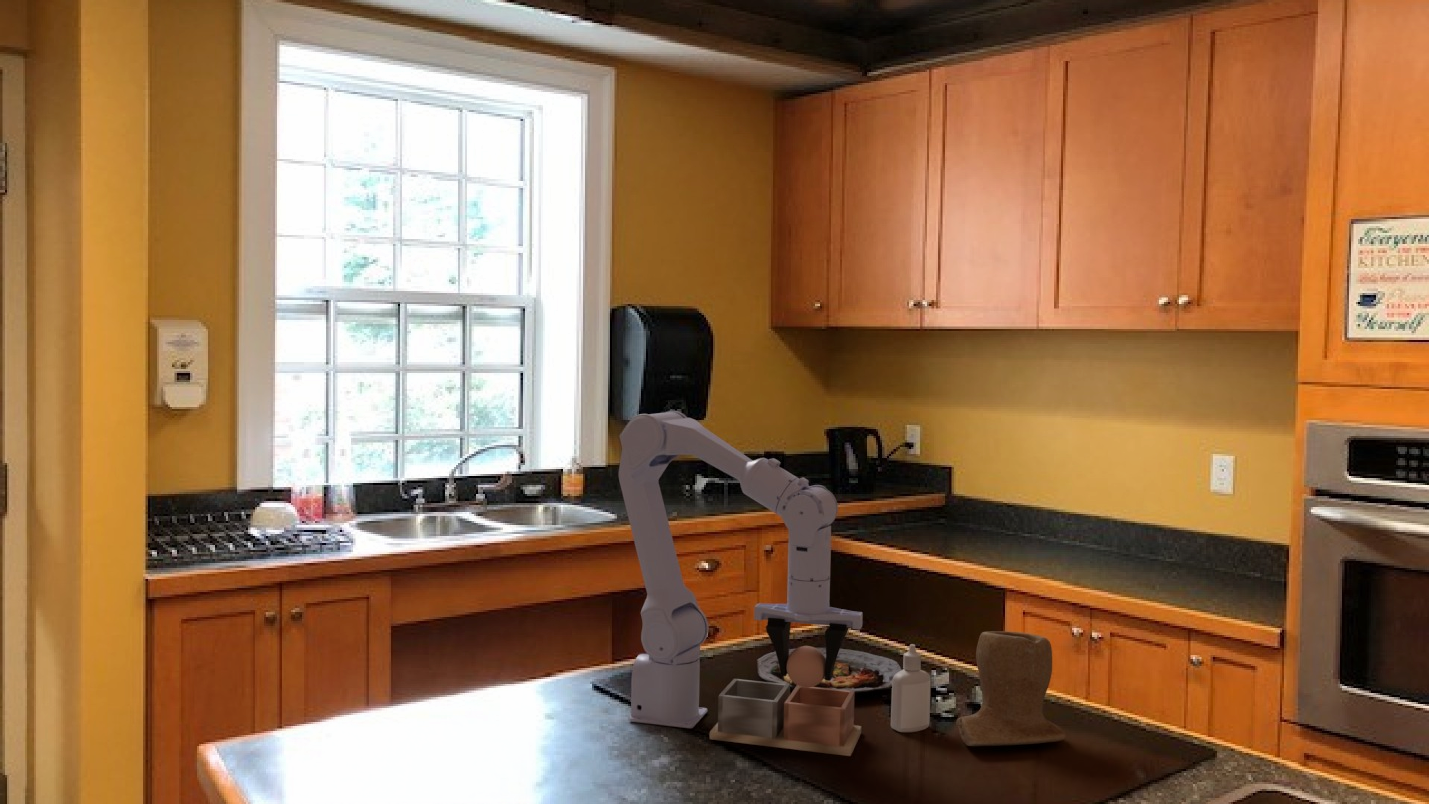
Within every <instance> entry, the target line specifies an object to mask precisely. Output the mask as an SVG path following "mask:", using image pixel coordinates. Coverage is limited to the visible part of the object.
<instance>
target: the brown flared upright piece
mask: <svg viewBox="0 0 1429 804" xmlns="http://www.w3.org/2000/svg"><path fill="white" fill-rule="evenodd" d="M975 658H976V665H977V671H978V676H979V683H980V688H981V697H982V698H981V699H982V703H981V706H980V709H979V710H978V711H977V712H975V713H974V714H970V715H965V716H964V715H963V716H960V717H958V718H957V719H956V721H955V723H956V726H957V728H958V732H959V735H960V738H961V740H962V742H963V743H964V744H965V746H968V747H997V746H998V747H999V746H1001V747H1003V746H1004V747H1005V746H1017V745H1018V746H1020V745H1035V744H1046V743H1054V742H1060V741H1063V740H1064V739H1066V733H1065V732H1064V731H1063V730H1062V729H1061V728H1060V727H1059V726H1057V725H1056V724H1055V723H1053V722H1051V721H1050V720H1048V719H1046V717H1045V716H1044V714H1043V706H1044V701H1045V697H1046V694H1047V691H1048V689H1049V685H1050V682H1051V678H1052V673H1053V649H1052V644H1051V642H1050V641H1049V639H1048V638H1046V637H1045V636H1041V635H1037V634H1034V633H1033V634H1032V633H1026V632H1017V631H1004V630H1003V631H1002V630H1001V631H998V630H997V631H996V630H995V631H994V630H993V631H983V632H981V633H980V635H979V638H978V642H977V645H976V653H975Z"/></svg>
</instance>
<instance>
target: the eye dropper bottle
mask: <svg viewBox="0 0 1429 804" xmlns="http://www.w3.org/2000/svg"><path fill="white" fill-rule="evenodd" d="M916 648H917V647H916V644H913V643H911V644H909V648H908V651H907V652H904V653H903V657H902V658H903V660H902V661H903V662H902V663H903V664H902V666H903V667H902V668H903V669H901V671H899V672H898V673H896V674H895V675H894V677H893V680H892V688H891V700H890V701H891V702H890V703H891V704H890V708H891V709H890V710H891V711H890V727H891V728H892V730H895V731H896V732H899V733H915V732H916V733H917V732H921V731H923V730H926V729H927V728H928V727H929V726H930V721H931V720H930V715H931V714H930V713H931V711H930V710H931V676H930V674H929V673H928V672H927V671H925V670H922V669H921V664H922V662H921V661H922V655H921V653H918V652H917V650H916Z"/></svg>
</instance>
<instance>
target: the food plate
mask: <svg viewBox="0 0 1429 804" xmlns="http://www.w3.org/2000/svg"><path fill="white" fill-rule="evenodd" d="M815 648H816V649H818V650H819V651H820V652H821V653H822V654H823V655H824V657H825V659H826V647H815ZM795 649H796V648H791V649H790V648H789V655H790V654H791V653H792V652H793V651H794V650H795ZM756 662H757V664H756V665H757V674H758V676H759V677H760V678H761V679H762V680H763V681H764V682H771V683H780V684H790V690H791V689H792V690H794V689H795V687H796V686H797V685H796V684H795V683H794V682H793V681H792V680H791V679H790V678H789V676H788V674H787V675H786V676H781V674H780V667H779V662H778V658H777V655H776V652H775V651H774V652H770V653H766V654H764V655H763V656H761V657H760V658H758V659H757V660H756ZM851 668H854V669H855V670H856V669H860V671H859V672H857V671H853V670H852V671H851V672H850V669H851ZM901 670H902V668H901V666H900V664H899V663H898V661H897V660H896V661H895V660H894V659H892V658H891V659H890V658H889V657H885V656H880V655H876V654H872V653H869V652H864V651H860V650H852V649H844V648H840V649H839V652H838V655H837V658H836V662H835V666H834V671H833V677H832V679H831V680H830V681H827V680H825V677H824V679H823V680H822V681H821V682H820V683H819V684H818V685H816V686H813V687H818V688H828V689H837V690H847V691H855V694H856V693H858V694H859V693H866V692H872V691H877V690H878V691H883V690H884V691H886V690H888V689H892V688H891V687H892V680H893V677H894V675H895V674H896V673H898V672H899V671H901Z"/></svg>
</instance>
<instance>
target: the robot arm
mask: <svg viewBox="0 0 1429 804" xmlns="http://www.w3.org/2000/svg"><path fill="white" fill-rule="evenodd" d="M619 440H620V444H621V456H620V461H619V466H618V467H619V468H618V480H619V486H620V489H621V493H622V497H623V501H624V505H625V510H626V513H627V514H626V515H627V517H628V522H629V525H630V530H631V533H632V538H633V542H634V545H635V549H636V550H635V551H636V554H637V559H638V562H639V566H640V570H641V575H642V578H643V583H644V586H645V590H646V594H647V595H646V599H645V600H644V603H643V606H642V608H641V611H640V615H641V620H642V622H641V623H642V626H641V627H642V629H641V633H640V640H641V644H642V647H643V649H644V651H645V653H639V654H638V655H637V657H636V658H635V659H634V662H633V665H632V670H631V685H630V687H631V689H630V692H631V693H630V694H631V697H630V698H631V699H630V702H631V703H630V716H629V718H628V720H629V722H632V723H634V722H635V723H641V724H650V725H659V726H665V727H666V726H667V727H675V728H683V729H684V728H685V729H693V728H694V727H695V726H696V725H697V724H698V723H699V722H700V720H701V719H702V718H703V717H704V716H705V715H706V714H707V712H708V708H707V707H699V706H700V670H701V669H700V667H701V666H700V661H701V645H702V644H703V643H704V642H705V641H706V640H707V638H708V633H709V631H710V630H709V629H710V627H709V622H708V618H707V616H706V614H705V613H704V612H703V611H702V609H701V607H700V606H699V604H698V601H697V597H696V595H695V594H694V593H693V592H692V591H691V590H690V589H689V588H688V587H687V586H686V585H685V583H684V580H683V576H682V572H681V571H682V570H681V568H680V563H679V559H678V555H677V550H676V547H675V545H674V539H673V535H672V531H671V527H670V523H669V518H668V515H667V512H666V508H665V507H666V506H665V504H664V503H665V502H664V499H663V495H662V491H661V488H660V484H659V480H660V478H661V477H662V475H663V474H664V472H665V470H666V469H667V467H668V466H669V464H670V463H671V462H672V461H673V460H675V459H676V458H678V457H679V456H680V455H683V456H684V455H688V456H689V455H690V456H691V455H692V456H694V457H696V458H698V459H699V460H702V461H703V462H705V463H707V464H709V465H710V466H712V467H714V468H716V469H718V470H719V471H721V472H723V473H725V474H727V475H728V476H730V477H732V478H734V479H736V480H738V481H739V484H740V488H741V491H742V493H743V494H744V495H746V496H747V497H748V498H750V499H751V500H754V501H755V502H756V503H758V504H760V505H762V506H763V507H765V508H766V509H768V510H769V511H771V512H773V513H774V514H776V515H777V516H779V517H781V519H782V522H783V523H784V525H785V527H786V528H787V529H788V546H787V547H788V551H787V585H786V586H787V589H786V590H787V592H786V594H787V597H786V598H787V599H786V603H760V602H758V603H757V604H755V606H754V607H753V609H754V610H753V611H754V612H753V615H754V618H753V620H754V621H760V622H761V621H763V620H765V621H767V624H766V626H765V631H766V633H767V636H768V637H769V639H770V642H771V644H772V646H773V648H774V652H776V655H777V658H778V662H779V667H780V674H781V676H786V675H787V674H788V673H787V669H786V664H787V660H788V657H789V650H790V636H791V635H790V634H791V625H792V623H798V624H809V625H821V626H828V627H827V629H826V630H825V631H824V637H825V638H824V639H825V648H826V664H825V680H827V681H830V680H831V679H832V677H833V671H834V666H835V662H836V658H837V655H838V652H839V649H841V647H842V645H843V642H844V639H845V637H846V635H847V633H848V632H849V630H850V628H851V629H852V630H859V631H860V630H861V629H862V627H863V612H862V611H853V610H848V609H841V608H839V607H838V608H837V607H832V606H830V599H831V598H830V593H831V591H830V590H831V588H830V587H831V557H832V556H831V555H832V554H831V553H832V552H831V551H832V550H831V549H832V543H831V541H832V539H831V537H832V536H831V535H832V525H831V524H833V522H834V521H835V519H836V518H837V515H838V510H839V509H838V507H839V505H838V501H837V499H836V497H835V495H834V494H833V493H832V491H830V490H828V488H827V487H826V486H824V485H820V484H815V485H809V483H810V481H809V479H807V478H806V477H800V478H799V477H797V476H796V475H794V474H792V473H790V472H789V471H788V470H786V469H784V468H782V467H780V465H781V462H780V461H779V459H776V458H774V457H773V458H769V459H768V458H765V457H760V458H757V459H754V460H753V459H751V458H750V457H748V456H747V455H745V454H744V453H743V452H741V451H739V450H738V449H736V448H735V447H734V446H732V445H731V444H729V443H728V442H726V441H725V440H723V439H722V438H720V437H719V436H717V435H716V434H715V433H713V432H712V431H710V430H709V429H708V428H706V427H704V426H703V425H702V424H701V423H700V422H699V421H698V420H696V419H694V418H691V417H688V416H687V415H685V414H684V413H683V412H680V411H677V410H668V411H665V412H659V413H650V414H648V413H640V414H637V415H635V416H633V417H632V418H631V419H630V420H629V421H628V422H627V424H626V426H625V427H624V428H623V430H622V432H620V434H619Z"/></svg>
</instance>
